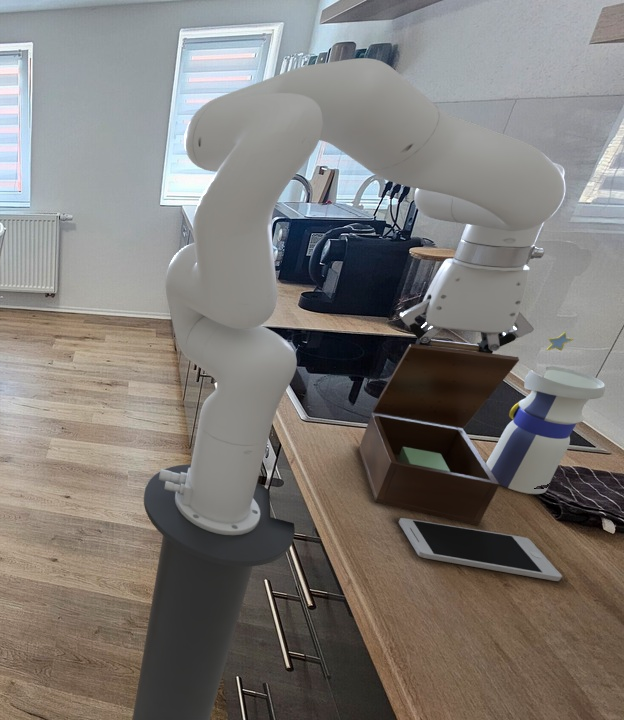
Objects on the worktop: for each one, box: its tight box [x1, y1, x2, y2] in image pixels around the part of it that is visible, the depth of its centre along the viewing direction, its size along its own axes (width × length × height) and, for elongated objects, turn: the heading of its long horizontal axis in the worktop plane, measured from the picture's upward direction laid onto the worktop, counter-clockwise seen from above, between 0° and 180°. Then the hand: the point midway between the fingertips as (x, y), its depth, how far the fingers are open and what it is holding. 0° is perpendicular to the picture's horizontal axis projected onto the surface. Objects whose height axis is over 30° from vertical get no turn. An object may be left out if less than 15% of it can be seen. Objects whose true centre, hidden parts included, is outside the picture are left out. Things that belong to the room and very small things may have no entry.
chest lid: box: [372, 338, 520, 429], centre depth 81 cm, size 16×13×5 cm
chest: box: [358, 412, 501, 526], centre depth 81 cm, size 16×13×8 cm
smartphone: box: [398, 517, 563, 582], centre depth 70 cm, size 7×15×1 cm, turn 73°
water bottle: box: [485, 331, 606, 495], centre depth 78 cm, size 8×9×25 cm
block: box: [397, 447, 450, 472], centre depth 81 cm, size 5×5×5 cm
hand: (445, 365), depth 79 cm, fingers closed on chest lid, 6 cm apart
